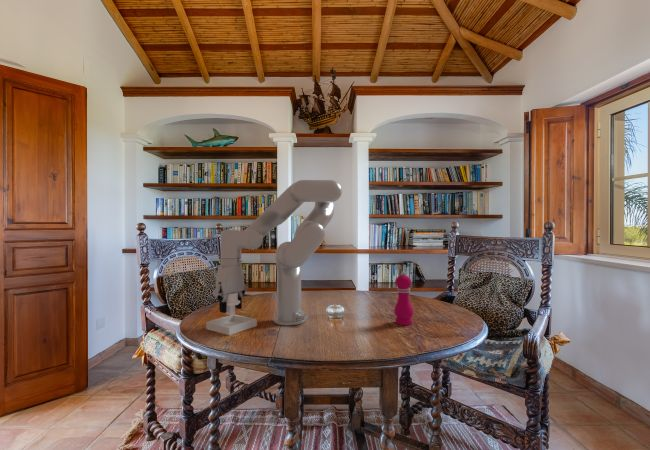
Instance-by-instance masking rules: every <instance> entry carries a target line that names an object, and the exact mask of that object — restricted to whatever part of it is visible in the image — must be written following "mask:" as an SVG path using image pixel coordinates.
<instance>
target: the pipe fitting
mask: <svg viewBox="0 0 650 450" xmlns="http://www.w3.org/2000/svg"><path fill="white" fill-rule="evenodd" d="M225 302H226V303H227V312H226V313H225V315H226V316H230V315H236V308H235V305H238V304H239V303H240V300H238V292H236V293H231V294H227V297H226V300H225Z"/></svg>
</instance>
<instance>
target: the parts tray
mask: <svg viewBox="0 0 650 450" xmlns="http://www.w3.org/2000/svg"><path fill="white" fill-rule="evenodd" d="M257 320H258V318H257V319H256V318H254V317H253V318H252V317H248V316H243V315H237V314H234V315H226V316H223V317H219V318H215V319H212V320H208V321H206V322H205V330H207V331H208V330H209V331H211V332H216V333H220V334H222V335H227V336H232V335H234V334H237V333H240V332H243V331H246V330H248V329H253V328H255V327H257V326H258V321H257Z"/></svg>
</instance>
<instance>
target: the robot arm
mask: <svg viewBox="0 0 650 450" xmlns="http://www.w3.org/2000/svg"><path fill="white" fill-rule="evenodd" d="M342 194H343V191H342V186H341V185H340V184H339V182H337V181H335V180H332V179H319V180H318V179H317V180H316V179H301V180H297V181H295V182H294V183H292V184H291V185H289V187H287V188H286V189H285V190H284V191H283V192H282V193H281V194H280V195H279V196H278V197H277V198H276V199H275V200H274V201H273V202H272V203H271V204H270V205H269V206H268V207H267V208H265V209H264V211H263V212H262V213H261V214H260V215H259V216H258V217H257V218H256V219H254V220H253V221H252V222H251V223H250V224H249V225H248V227H246V228H245V229H244V230H239V229H224V230H222V231H221V233H220V266H218V268H217V272H216V278H215V279H216V282H215V288H214V289H213V291H212V296H214V298H215V299H216V300H217V302H219V304H218V306H219V307H218V308H219V313H222V314H226V312H227V303H226V302H225V300H226V297H227V294H231V293H236V292H238V300H240V303H239V304H238V305H235V309H236V310H242V308H243V307H242V300H243V298H244V295H245V293H246V291H247V289H248V288H249V287H248V286H247V284H246V283H245V276H244V268H243V265H242V262H244V260H243V258H242V249H246V250H247V249H248V250H255V249H258V248H260V247H261V246H262V245H263V242H264V237H266V235H268V233H269V232H271V231H273V230H274V229H275V228H277V227H278V226H280V225H282V224H283V223H284V222H286V221H287V220H288V219H289V218H290V217H291V216H292V215H293V214H294V212H296V211H297V209H298V208H300V206H302V205H303V204H304V203H314V207H313V209H312V210H311V211H310V213H309V214H308V215H307V216H306V217H305V218H304V220H302V222H301V223H300V224H299V225H298V226H297V227H296V229H295V231H294V237H293V238H292V239H291V241H284V242H282V243H280V244H279V245H278V247H277V248H276V251H275V265H276V292H277V293H276V298H277V299H276V306H277V309H276V311H277V313H276V316H275V317H273V320H272V321H273V323H274V324H276V325H279V326H295V325H300V324H303V323H305V322H306V321H307V320H308V318H309V314H306V313H304V310H305V309H302V269H301V267H302V266H303V265H304V264H305V263H306V262H307V261H308V260H309V259H310V258H311V256H312V255H313V254H314V253H315V252H316V251H317V249H319V247H320V246H321V245H322V243H323V242H324V239H325V235H326V234H325V233H326V231H325V228H326V227H327V226H328V225H329V223H330V222H331V220H332V219H333V217H334V214H335V213H334V212H335V202H336V201H338V200H339V199H340V198H341V196H342Z"/></svg>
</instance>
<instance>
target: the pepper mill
mask: <svg viewBox="0 0 650 450" xmlns="http://www.w3.org/2000/svg"><path fill="white" fill-rule="evenodd" d="M395 285H396V287H397V288H396V291H397V293H398V294H397V295H398V297H397V298H398V299H397V302H396V304H395V306H394V309H393V310H394V311H393V313H394V315H395V316H396V317H395V324H397V325H399V326H410V325H412V324H413V318H412V317H413V315H414V308H413V305H412V303H411V301H410V293H411V288H410V287H411V286H412V285H413V283H412V279H411V277H410V276H408V275H407V273H406V271H404V270H403V271H401V272H400V275H398V276H397V277H396V279H395Z"/></svg>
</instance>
